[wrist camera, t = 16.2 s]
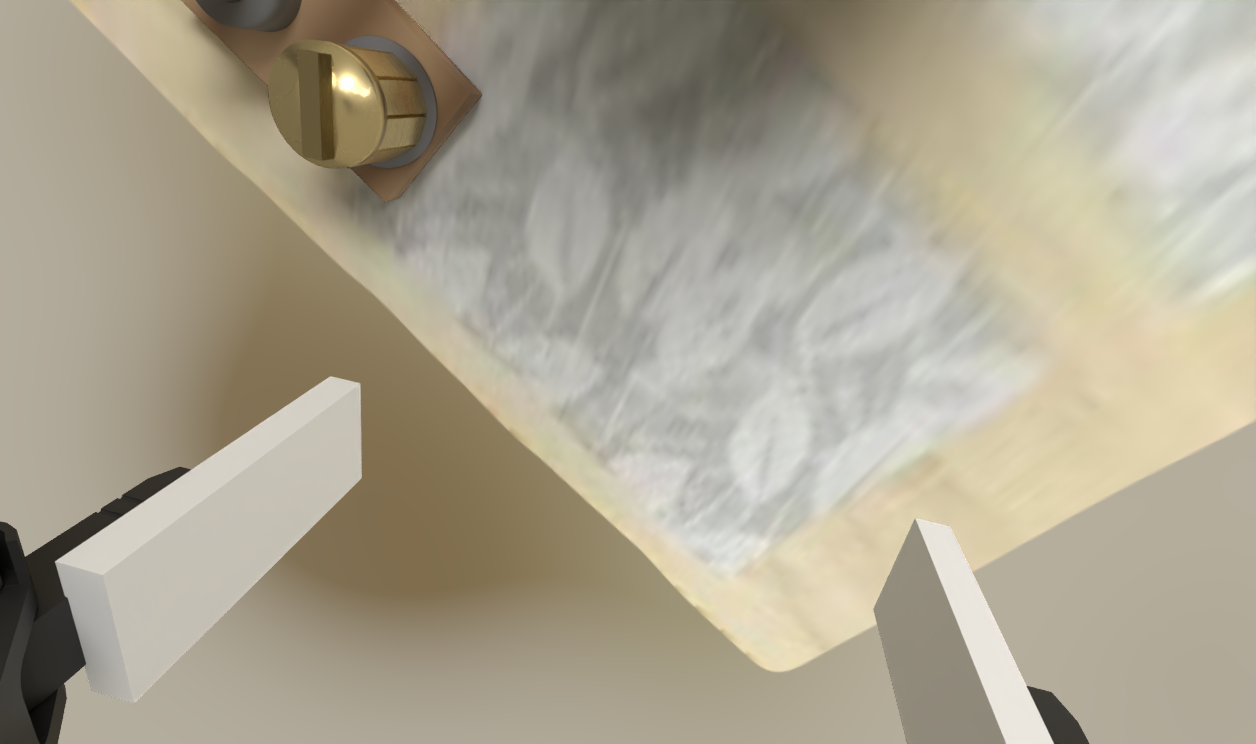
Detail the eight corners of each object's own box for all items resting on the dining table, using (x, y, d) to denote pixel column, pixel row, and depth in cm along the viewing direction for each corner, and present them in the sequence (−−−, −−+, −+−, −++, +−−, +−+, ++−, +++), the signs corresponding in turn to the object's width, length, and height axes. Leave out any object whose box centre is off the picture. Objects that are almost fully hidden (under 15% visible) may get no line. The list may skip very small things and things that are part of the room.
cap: (328, 38, 40) (247, 27, 34) (429, 57, 40) (367, 50, 33) (331, 150, 43) (258, 159, 37) (425, 169, 43) (367, 182, 36)
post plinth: (200, 0, 43) (64, -24, 34) (270, -133, 39) (137, -197, 30) (399, 197, 46) (319, 221, 38) (482, 93, 42) (414, 93, 34)
